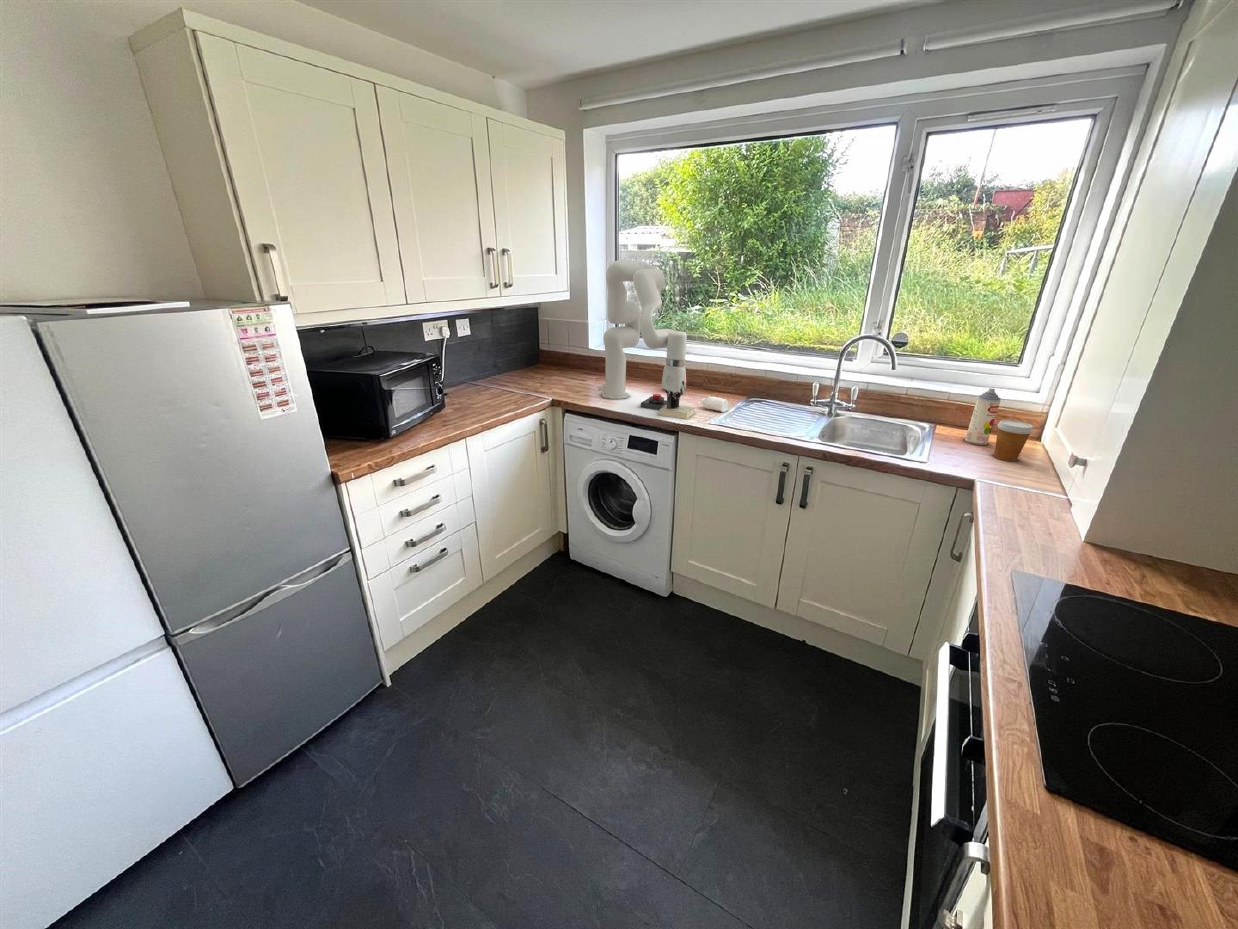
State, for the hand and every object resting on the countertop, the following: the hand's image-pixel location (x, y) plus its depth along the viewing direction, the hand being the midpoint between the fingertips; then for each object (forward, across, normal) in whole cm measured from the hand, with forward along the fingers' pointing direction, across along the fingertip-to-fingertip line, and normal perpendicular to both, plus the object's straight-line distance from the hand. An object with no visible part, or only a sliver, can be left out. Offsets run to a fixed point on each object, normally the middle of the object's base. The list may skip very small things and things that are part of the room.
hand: (672, 406), depth 209 cm
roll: (+3, +5, +19) cm, 20 cm away
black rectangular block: (0, 0, 0) cm, 0 cm away
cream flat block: (+3, +2, +1) cm, 4 cm away
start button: (-1, -12, +2) cm, 12 cm away
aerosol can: (+3, +90, +68) cm, 113 cm away
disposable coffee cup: (+3, +102, +57) cm, 117 cm away
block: (+3, -12, +2) cm, 13 cm away
